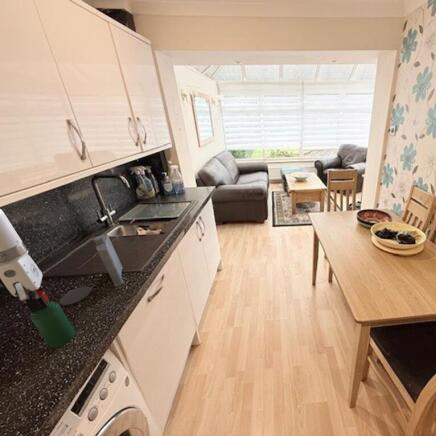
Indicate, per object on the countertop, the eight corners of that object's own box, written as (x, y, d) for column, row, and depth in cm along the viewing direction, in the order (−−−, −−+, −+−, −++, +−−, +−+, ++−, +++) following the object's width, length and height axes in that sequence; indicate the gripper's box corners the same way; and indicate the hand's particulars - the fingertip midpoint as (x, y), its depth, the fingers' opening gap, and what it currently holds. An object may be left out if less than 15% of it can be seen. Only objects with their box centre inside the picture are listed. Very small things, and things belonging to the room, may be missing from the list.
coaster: (53, 305, 90) (52, 304, 90) (76, 287, 99) (76, 286, 99) (76, 306, 89) (75, 305, 89) (98, 287, 98) (97, 286, 98)
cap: (28, 305, 69) (22, 297, 68) (46, 296, 72) (41, 288, 71) (33, 310, 67) (27, 301, 66) (51, 300, 70) (46, 292, 69)
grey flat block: (123, 284, 99) (104, 243, 90) (112, 288, 97) (91, 247, 88) (122, 266, 111) (105, 228, 102) (112, 269, 109) (93, 231, 100)
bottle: (43, 347, 74) (13, 304, 66) (63, 329, 79) (37, 288, 72) (62, 348, 73) (33, 305, 66) (80, 330, 79) (56, 289, 71)
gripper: (19, 261, 58) (55, 315, 66) (30, 236, 70) (59, 285, 78) (-27, 274, 54) (18, 330, 62) (-7, 246, 66) (28, 296, 74)
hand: (41, 304), depth 70 cm, fingers closed on cap, 3 cm apart
